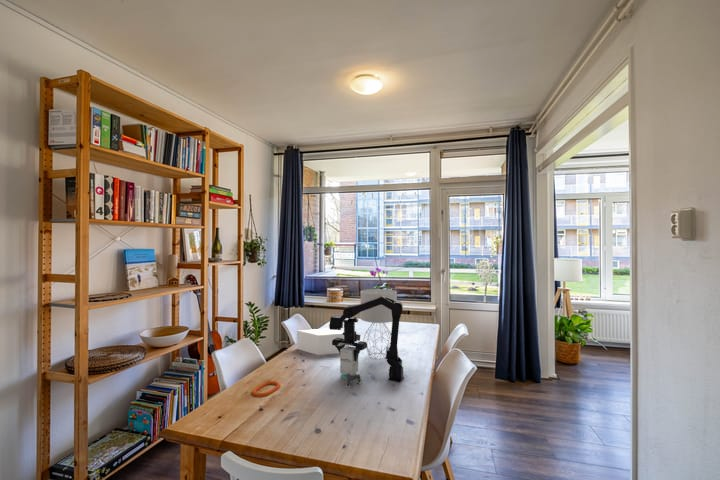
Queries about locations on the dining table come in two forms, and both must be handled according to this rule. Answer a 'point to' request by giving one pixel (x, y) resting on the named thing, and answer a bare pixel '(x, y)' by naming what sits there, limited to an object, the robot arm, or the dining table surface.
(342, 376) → the teal round disc
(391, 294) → the table lamp
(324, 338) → the block
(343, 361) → the supplement box
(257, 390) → the orange oval ring
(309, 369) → the dining table surface
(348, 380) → the grey cabinet handle
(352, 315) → the robot arm
